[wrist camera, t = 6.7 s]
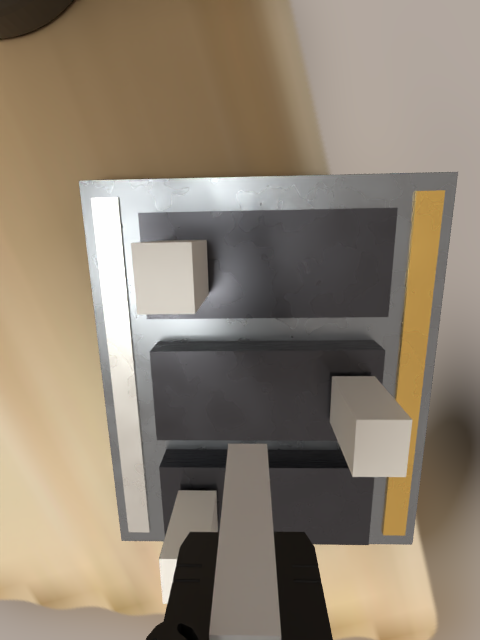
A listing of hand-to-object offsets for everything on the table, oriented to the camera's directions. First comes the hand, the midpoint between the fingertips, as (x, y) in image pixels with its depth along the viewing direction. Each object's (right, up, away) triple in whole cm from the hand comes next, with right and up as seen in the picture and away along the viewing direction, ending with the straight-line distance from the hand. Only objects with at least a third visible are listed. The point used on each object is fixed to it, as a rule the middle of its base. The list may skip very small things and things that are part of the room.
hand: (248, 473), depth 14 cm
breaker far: (-3, -7, +10) cm, 12 cm away
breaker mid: (+6, +1, +7) cm, 10 cm away
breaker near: (-3, +9, +6) cm, 11 cm away
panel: (+1, +2, +12) cm, 12 cm away
